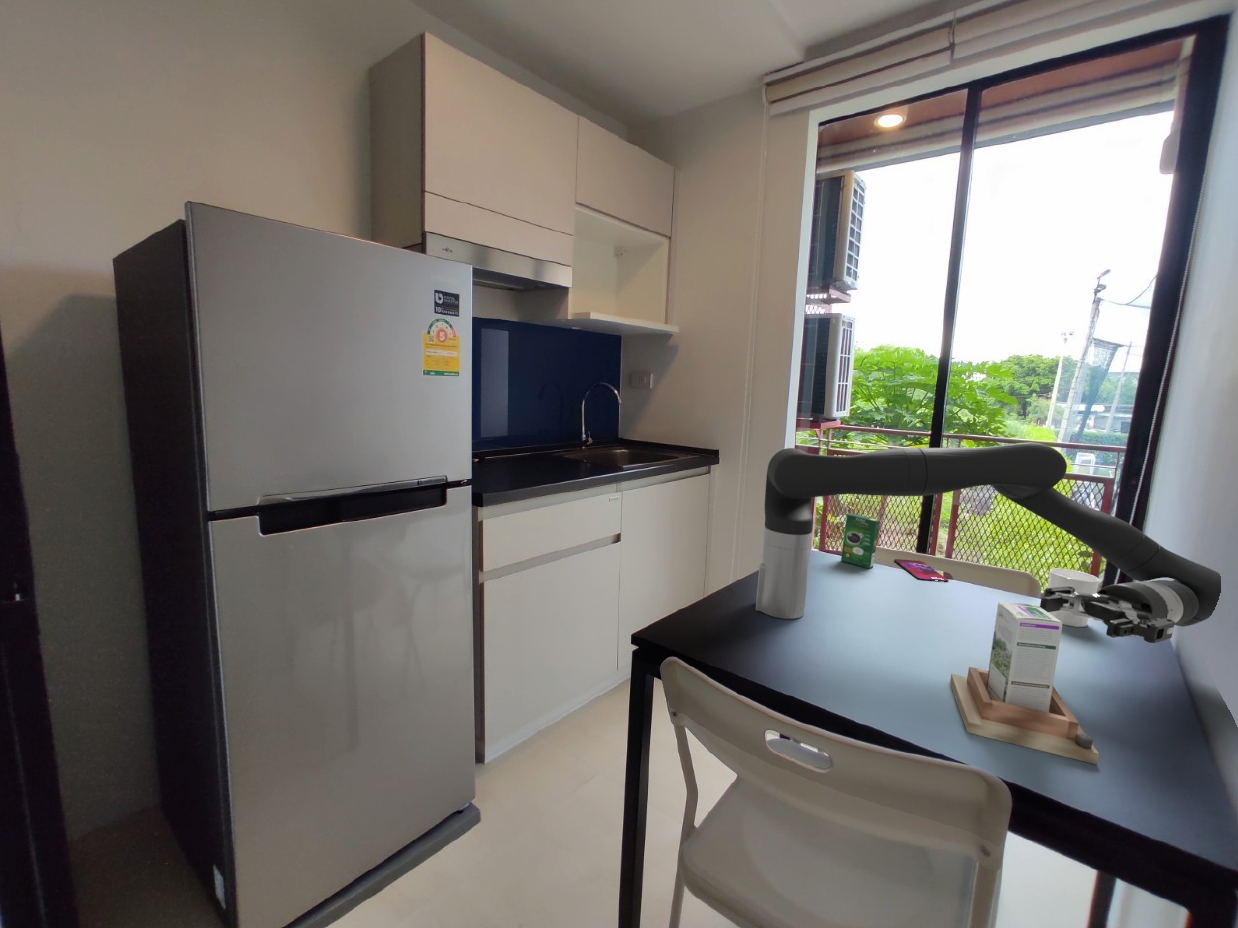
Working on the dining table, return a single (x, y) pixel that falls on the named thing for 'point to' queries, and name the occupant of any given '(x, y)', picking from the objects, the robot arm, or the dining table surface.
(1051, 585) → the white cup
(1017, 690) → the syrup box
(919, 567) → the smartphone
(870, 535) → the coffee box
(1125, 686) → the dining table surface
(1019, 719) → the wooden cradle
